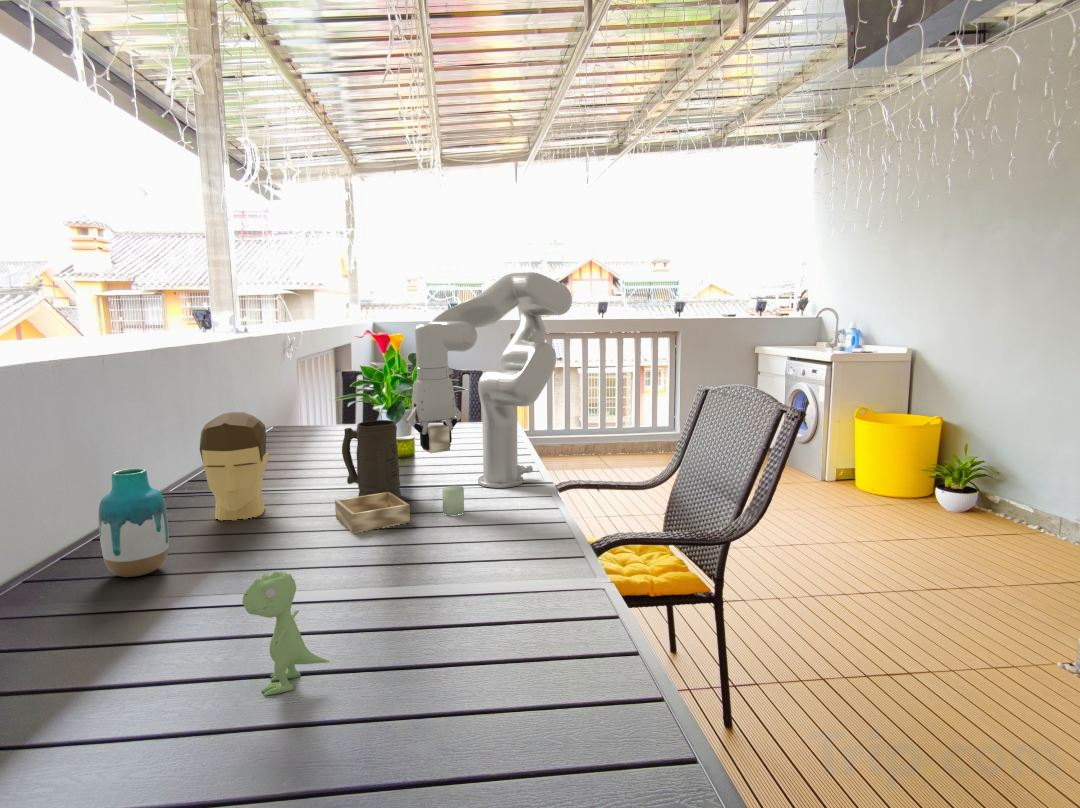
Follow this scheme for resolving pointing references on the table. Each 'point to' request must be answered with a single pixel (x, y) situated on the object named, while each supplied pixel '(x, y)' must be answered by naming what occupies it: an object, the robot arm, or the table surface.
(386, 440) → the beer stein
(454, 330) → the robot arm
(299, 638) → the toy
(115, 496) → the vase
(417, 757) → the table surface
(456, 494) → the green cylinder
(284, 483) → the table surface
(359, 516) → the box
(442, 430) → the cream block
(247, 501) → the head
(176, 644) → the table surface
